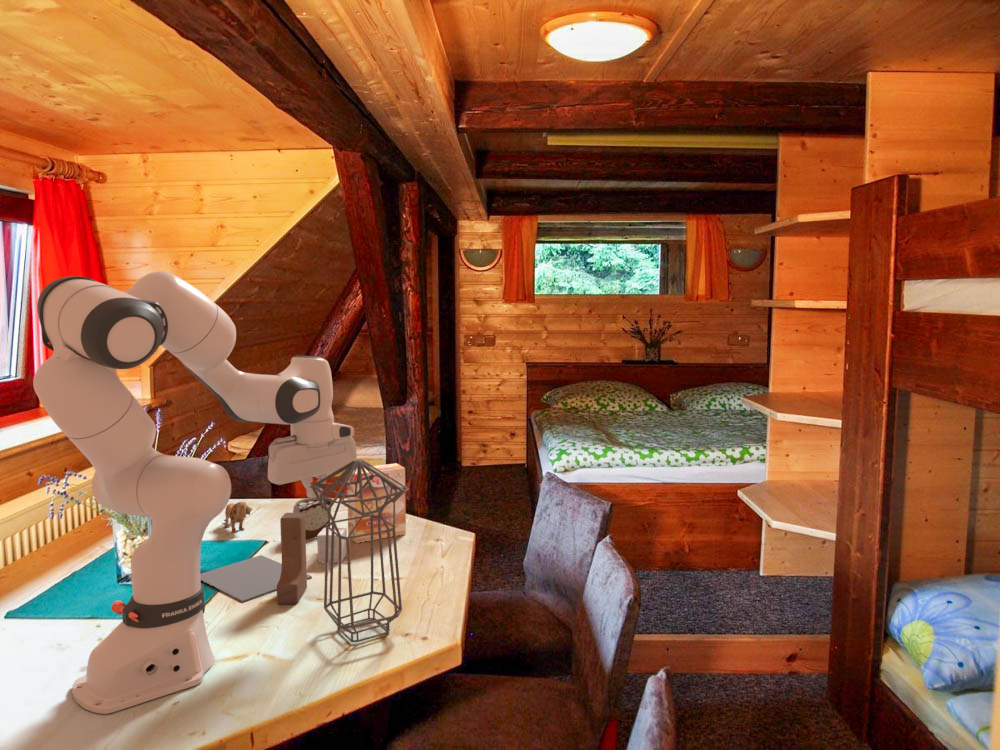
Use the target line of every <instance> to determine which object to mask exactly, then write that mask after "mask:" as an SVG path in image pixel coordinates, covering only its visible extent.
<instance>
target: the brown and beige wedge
mask: <svg viewBox="0 0 1000 750" xmlns="http://www.w3.org/2000/svg"><path fill="white" fill-rule="evenodd" d="M323 497H324V496H322V502H323ZM330 498H331V499H332V497H330ZM325 502H326V507H329V506H330V504H331V502H330V501H328V500H325ZM323 504H324V502H323ZM292 513H304V514H305V537H306V542H308V541H310V539H311V540H313V538H314V539H316V538H315V537H317V535H318V534H319V533H320V532H321V531H322V529H323V528H326V526H325V524H328V523H329V520H328V515H327V511H325V510H324V509H322V508H321V504H320V502H319V501H318V499H317V497H313V498H309V497H307V498H303V499H300V500H298V501H296V502H295V503H294V506H293V511H292ZM330 513H331V514H332V508H331V509H330ZM330 521H331V519H330ZM329 527H330V528H331V525H330V526H329ZM307 540H308V541H307Z"/></svg>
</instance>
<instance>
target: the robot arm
mask: <svg viewBox="0 0 1000 750" xmlns="http://www.w3.org/2000/svg"><path fill="white" fill-rule="evenodd" d="M36 306H37V308H36V309H37V316H38V320H39V324H40V328H41V329H40V330H41V340H42V343H43V345H44V346H45V347H46V348H47V349H48V350H50V351H53V353H52V355H51V356H50V357H49V358H48V359H46V360H45V361H44V362H43V363H42V364H41V365H40V366H39V367H38V368H37V370H36V371H35V372H34V373H35V374H34V376H33V379H32V382H33V384H32V386H33V389H34V392H35V394H36V396H37V397H38V399H39V402H40V403H41V404H42V407H44V410H45V411H46V413H47V414H48V416H49V417H50V419H51V420H52V421H53V422H54V424H55V425H56V426H57V427H58V428H59V429H60V430H61V432H62V433H63V434H64V435H65V436H66V437H67V438H68V439H69V441H71V442H72V444H73V445H74V446H75V447H76V448H77V449H78V451H80V452H81V453H82V455H84V457H85V458H86V459H87V461H89V463H90V464H91V465H92V467H93V468H94V473H93V477H92V481H91V492H92V495H93V497H94V499H95V501H96V502H97V504H99V505H101V506H102V507H105V508H106V509H109V510H112V511H113V512H117V513H118V514H121V515H122V514H123V515H127V516H128V515H129V516H137V517H143V518H144V517H145V518H150V519H151V522H152V523H151V530H150V531H151V532H150V536H149V538H147V539H146V540H144V541H143V542H141V543H140V544H139V545H138V546H137V547H136V548H135V549H134V551H133V552H132V554H131V558H130V568H131V587H132V596H131V597H130V599H129V601H128V602H127V604H126V603H124V602H123V601H122V600H119V599H118V600H115V601H113V602H112V604H111V606H110V609H111V611H112V612H113V613H115V614H116V615H120V616H121V615H122V621H121V622H120V623H119V624H118V625H116V627H115V628H114V629H113V630H112V631H110V633H109V634H108V635H107V636H106V637H104V639H103V640H102V641H101V642H99V643H98V644H97V645H96V646H95V647H94V648H93V649H92V650H91V652H90V654H89V657H88V660H87V667H86V674H84V675H83V676H81V677H79V678H77V679H76V680H75V681H74V682H73V683H72V687H71V688H72V690H71V695H72V698H73V699H74V701H75V702H76V703H77V704H78V705H79V706H80V707H82V708H83V709H84V710H87V711H90V712H92V713H95V714H105V715H106V714H107V715H108V714H111V713H115V712H118V711H122V710H124V709H125V710H126V709H127V708H130V707H133V706H137V705H139V704H140V705H141V704H143V703H146V702H149V701H151V700H152V701H153V700H155V699H158V698H161V697H165V696H167V695H170V694H172V693H176V692H180V691H182V690H185V689H188V688H189V689H190V688H191V687H194V686H197V685H199V684H200V683H202V681H203V679H204V676H205V673H206V672H207V671H208V670H209V669H210V668H211V667H212V666H213V664H214V661H215V656H214V653H213V651H212V649H211V645H210V642H209V638H208V635H207V630H206V624H205V618H204V617H205V616H204V614H205V609H206V607H205V604H206V602H205V601H206V600H205V589H204V585H203V584H202V583H201V577H200V574H201V547H202V542H203V538H204V535H205V532H206V530H207V528H208V526H209V525H210V523H211V522H212V521H213V520H214V519H215V518H216V517H217V516H219V515H220V514H221V513H222V512H223V511H224V510H225V509H226V507H227V505H228V504H229V500H230V499H231V495H232V483H231V477H230V474H229V473H228V471H227V470H226V468H224V466H222V465H220V464H217V463H215V462H212V461H210V460H206V459H204V458H199V457H193V456H192V457H190V456H181V455H168V454H164V453H161V452H159V451H158V450H156V449H155V448H154V447H153V444H154V442H155V439H156V434H157V427H156V424H155V422H154V420H153V419H152V418H151V416H150V415H149V414H148V412H147V411H146V410H145V409H144V407H143V405H141V404H140V402H139V401H138V400H137V399H136V398H135V396H134V395H133V393H132V392H131V391H130V390H129V389H128V388H127V386H126V385H125V384H124V382H122V380H120V377H119V375H118V373H117V370H128V369H133V368H135V367H138V366H140V365H142V364H144V363H145V362H147V361H148V360H149V359H150V358H151V357H152V356H153V355H155V353H156V352H157V351H158V349H159V348H160V346H161V347H163V348H164V349H165V350H166V351H168V352H169V353H171V355H173V356H174V357H176V358H177V359H178V360H179V362H180V363H181V365H183V367H184V368H186V370H187V371H188V372H190V373H191V375H193V377H195V378H196V379H197V380H198V381H199V382H200V383H201V384H203V385H204V387H206V388H207V389H208V390H209V391H210V392H211V393H212V394H214V396H215V397H216V398H217V399H218V401H219V403H220V404H221V406H222V408H223V410H224V411H225V413H226V414H227V415H228V416H229V417H230V418H231V419H232V420H233V421H236V422H239V423H255V422H256V423H264V424H272V425H273V424H274V425H275V424H277V425H290V435H289V436H285V437H278V438H275V439H274V440H273V441H272V442H270V445H269V446H268V463H267V479H268V481H270V483H272V484H275V485H277V486H281V485H284V484H285V485H286V484H289V483H294V482H298V481H300V482H301V484H302V485H303V486H304V488H305V489H306V497H307V498H313V497H316V495H315V493H314V491H313V490H312V488H310V486H311V485H312V483H313V481H314V480H313V479H314V478H315V479H317V480H316V482H318V481H320V480H322V479H323V478H325V477H327V476H328V475H329V474H332V473H333V472H335V471H337V470H338V469H340V468H342V467H343V466H345V465H347V464H348V463H350V462H352V461H357V444H356V440H355V439H354V437H353V436H354V434H355V427H353V426H352V425H348V424H343V423H339V422H338V421H337V422H335V416H334V413H333V409H332V403H333V399H334V389H333V387H334V386H333V377H332V370H331V367H330V364H329V361H328V360H327V359H325V358H324V357H320V356H312V355H310V356H309V355H295V356H292V358H290V359H291V360H290V364H289V365H288V366H287V367H286V368H285V369H284V370H283V371H281V372H279V373H278V374H275V375H274V374H260V373H251V372H244V371H240V370H238V369H237V368H236V367H234V365H232V364H231V362H230V361H228V357H229V356H230V355H231V353H232V351H233V350H234V347H235V345H236V341H237V329H236V325H235V323H234V322H233V320H232V319H231V317H230V316H229V314H227V312H226V311H224V310H223V309H222V307H220V306H219V305H218V304H216V303H215V301H213V300H212V299H211V298H210V297H209V296H208V295H206V294H205V293H204V292H202V291H201V290H199V288H196V287H195V286H194V285H192V284H191V283H189V282H187V281H186V280H184V279H183V278H181V277H179V276H178V275H176V274H173V273H172V272H169V271H164V270H163V271H162V270H159V271H153V272H149V273H147V274H145V275H144V276H142V277H141V278H139V279H138V280H137V281H136V282H135V283H134V284H133V285H132V286H131V288H129V289H127V290H118V288H114V287H112V286H111V285H107V284H105V283H102V282H99V281H97V280H95V279H92V278H89V277H87V276H74V275H72V276H71V275H70V276H63V277H60V278H57V279H54V280H53V281H52V282H49V283H48V284H47V285H45V286H44V288H43V289H42V290H41V291H40V294H39V296H38V299H37V304H36ZM323 483H327V480H326V481H324V482H323ZM315 487H317V488H318V489H320V490H322V491H324V489H322V488H320V487H318V486H316V485H315ZM317 493H318V495H319V496H320V494H321V493H320V492H318V491H317Z"/></svg>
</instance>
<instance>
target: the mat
mask: <svg viewBox="0 0 1000 750" xmlns="http://www.w3.org/2000/svg"><path fill="white" fill-rule="evenodd" d="M281 568H282V562H278V561H276V560H274V559H272V558H269V557H267V556H265V555H262V554H261V555H257V556H254V557H250V558H247V559H243V560H241V561H237V562H235V563H230V564H227V565H225V566H221V567H219V568H215V569H211V570H208V571H205V572H202V573H201V572H200V577H201V581H203V582H205V583H207V584H209V585H211V586H214V587H216V588H217V589H219V590H220V592H221V593H223V594H225V595H227V596H230V597H232V598H233V599H235V600H237V601H238V602H241V603H245V602H248V601H250V600H254V599H257V598H260V597H262V596H265V595H268V594H271V593H273V591H274V592H277V584H278V582H279V580H280V575H281ZM309 578H310V579H312V578H313V576H312V575H310V574H307V580H309ZM203 582H202V583H203ZM205 583H204V584H205ZM207 584H206V585H207ZM209 585H208V586H209ZM211 586H210V587H211ZM217 589H216V590H217ZM219 590H218V591H219ZM270 592H271V593H270ZM267 593H268V594H267ZM264 594H265V595H264ZM259 596H260V597H259Z"/></svg>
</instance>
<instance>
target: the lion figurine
mask: <svg viewBox="0 0 1000 750" xmlns="http://www.w3.org/2000/svg"><path fill="white" fill-rule="evenodd" d="M252 510H253V508H252V507H250V506H248V504H247V503H246V501H238V502H237V503H232V502H230V503H227V505H226V507H225V512H224V513H225V519H223V521H224V522H225V525H224V528H229V526H231V531H230V532H231V533H232V534H235V533H236V531H237V530H236V525H235V524H236V523H238V524H239V525H238V530H239V531H240V532H241V531H245V527H243V525H244V521H245V519H246V518H247V515H248V516H250V515H251V513H252ZM229 519H230V525H229Z"/></svg>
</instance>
